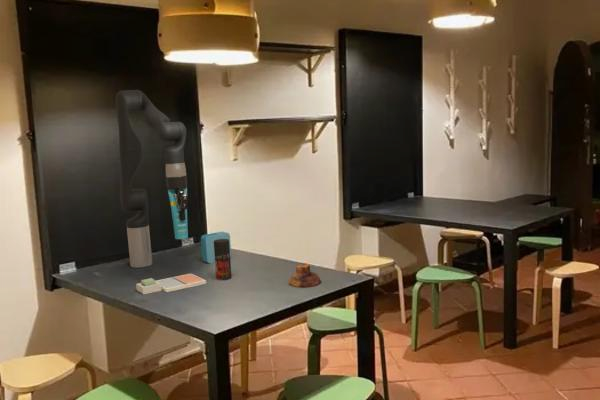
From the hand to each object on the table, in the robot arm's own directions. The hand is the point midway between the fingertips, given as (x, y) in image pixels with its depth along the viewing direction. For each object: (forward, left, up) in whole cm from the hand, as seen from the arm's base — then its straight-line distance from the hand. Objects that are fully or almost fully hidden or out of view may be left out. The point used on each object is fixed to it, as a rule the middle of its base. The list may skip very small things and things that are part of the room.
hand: (180, 219), depth 242 cm
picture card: (+2, -3, -24) cm, 25 cm away
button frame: (+2, -15, -24) cm, 29 cm away
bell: (+35, +32, -25) cm, 54 cm away
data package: (-21, +24, -24) cm, 40 cm away
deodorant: (+7, +13, -24) cm, 29 cm away
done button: (+2, -16, -23) cm, 28 cm away
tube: (0, 0, -7) cm, 7 cm away
